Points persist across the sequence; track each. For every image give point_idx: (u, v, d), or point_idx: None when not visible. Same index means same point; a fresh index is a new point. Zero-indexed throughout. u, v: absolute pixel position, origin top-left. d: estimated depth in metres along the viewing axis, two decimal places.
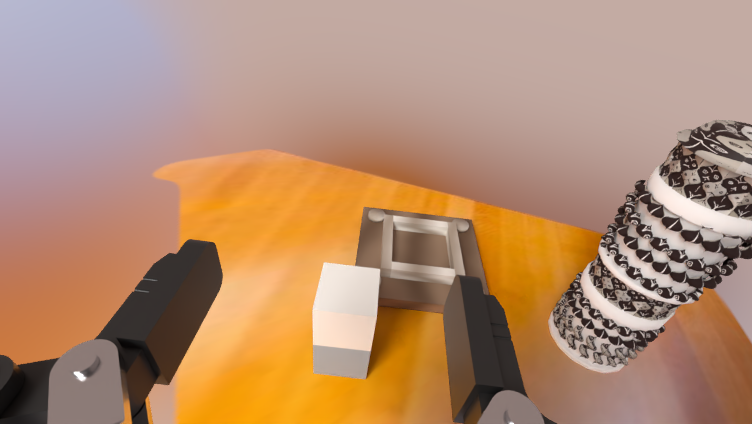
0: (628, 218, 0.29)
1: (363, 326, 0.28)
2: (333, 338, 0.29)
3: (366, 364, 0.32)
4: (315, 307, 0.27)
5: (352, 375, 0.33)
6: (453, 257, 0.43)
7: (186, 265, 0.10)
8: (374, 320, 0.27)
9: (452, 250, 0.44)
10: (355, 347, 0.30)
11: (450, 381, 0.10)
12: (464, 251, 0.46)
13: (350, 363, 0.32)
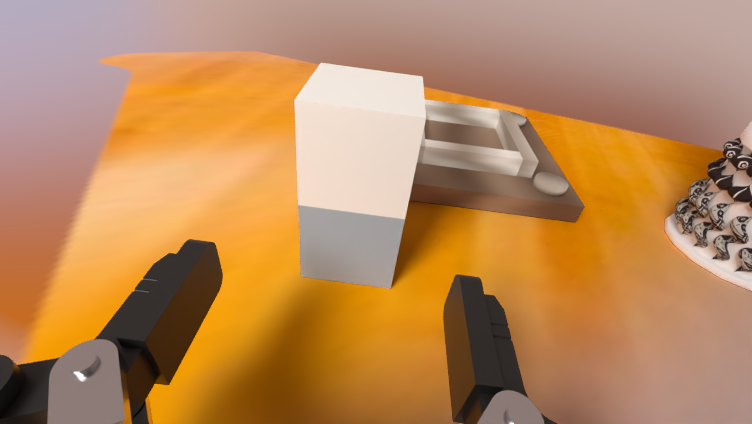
0: None
1: (397, 147, 0.14)
2: (336, 186, 0.15)
3: (394, 253, 0.18)
4: (300, 98, 0.13)
5: (367, 280, 0.19)
6: (514, 141, 0.29)
7: (186, 265, 0.10)
8: (420, 128, 0.14)
9: (511, 134, 0.30)
10: (376, 210, 0.16)
11: (450, 381, 0.10)
12: None
13: (366, 251, 0.18)
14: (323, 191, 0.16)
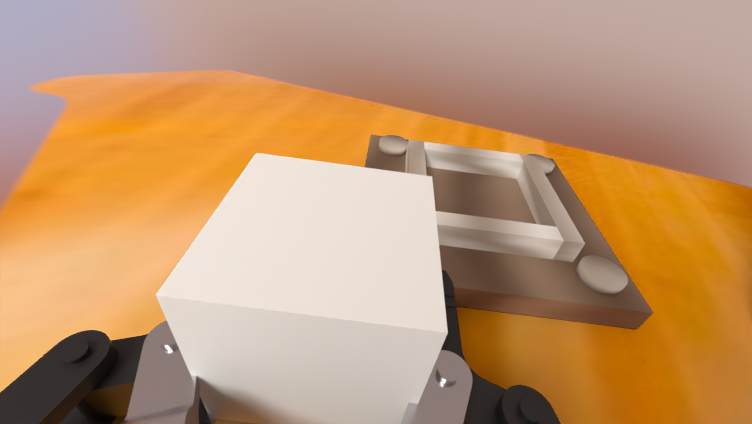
0: None
1: (386, 366, 0.07)
2: (272, 403, 0.08)
3: None
4: (173, 285, 0.06)
5: None
6: (548, 207, 0.22)
7: None
8: (434, 346, 0.06)
9: (542, 196, 0.23)
10: None
11: None
12: None
13: None
14: (250, 407, 0.08)
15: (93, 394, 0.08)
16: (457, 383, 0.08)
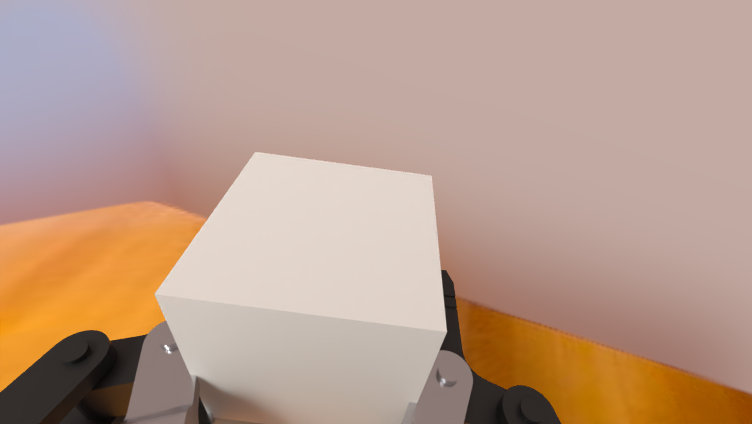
0: None
1: (385, 366, 0.07)
2: (271, 402, 0.08)
3: None
4: (172, 284, 0.06)
5: None
6: None
7: None
8: (433, 345, 0.06)
9: None
10: None
11: None
12: None
13: None
14: (249, 406, 0.08)
15: (93, 394, 0.08)
16: (457, 383, 0.08)
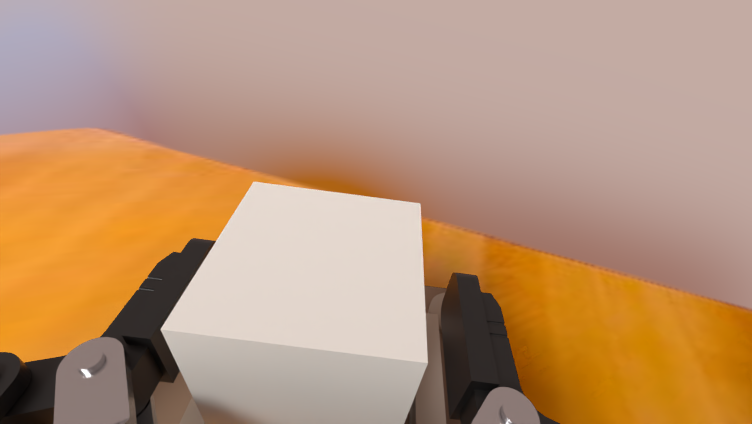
0: None
1: (373, 391, 0.07)
2: (269, 421, 0.09)
3: None
4: (176, 319, 0.07)
5: None
6: None
7: (190, 264, 0.10)
8: (416, 374, 0.07)
9: None
10: None
11: (447, 378, 0.10)
12: None
13: None
14: None
15: (11, 416, 0.07)
16: None
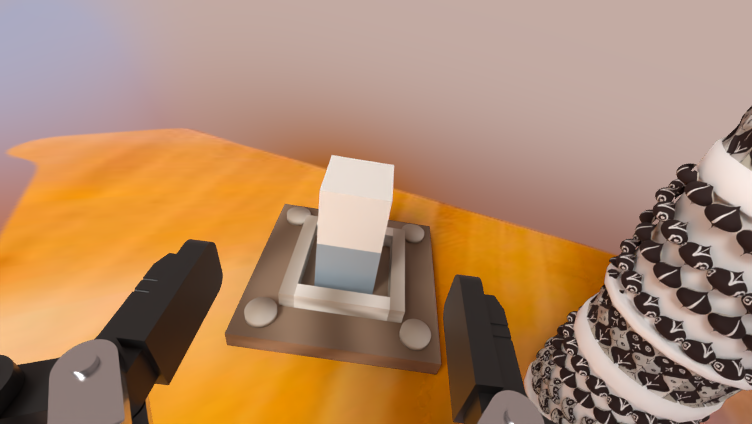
0: (664, 231, 0.16)
1: (376, 215, 0.25)
2: (340, 234, 0.26)
3: (374, 273, 0.28)
4: (323, 188, 0.24)
5: (357, 288, 0.30)
6: (392, 279, 0.30)
7: (186, 265, 0.10)
8: (389, 206, 0.24)
9: (392, 268, 0.31)
10: (364, 248, 0.27)
11: (450, 381, 0.10)
12: (412, 270, 0.33)
13: (357, 271, 0.28)
14: (332, 236, 0.26)
15: (5, 418, 0.07)
16: None
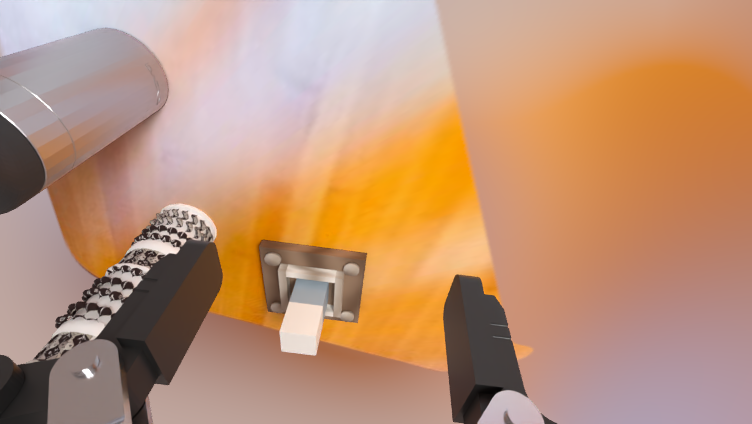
0: None
1: (288, 323, 0.49)
2: (309, 312, 0.51)
3: (294, 289, 0.53)
4: (314, 337, 0.48)
5: (305, 279, 0.55)
6: (286, 284, 0.55)
7: (186, 265, 0.10)
8: (281, 328, 0.48)
9: (286, 289, 0.56)
10: (298, 304, 0.51)
11: (450, 381, 0.10)
12: (276, 287, 0.58)
13: (303, 290, 0.54)
14: (313, 310, 0.51)
15: (5, 418, 0.07)
16: None
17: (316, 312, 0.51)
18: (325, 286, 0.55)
